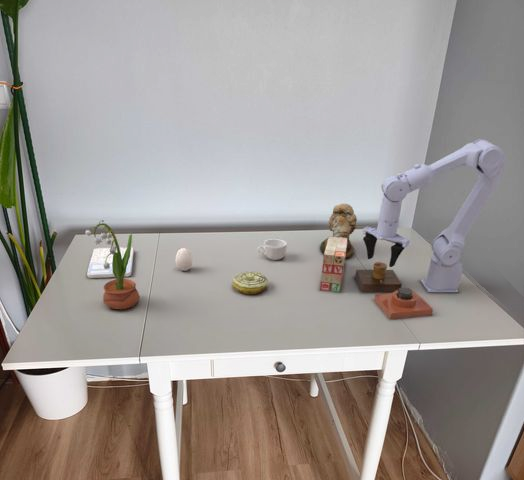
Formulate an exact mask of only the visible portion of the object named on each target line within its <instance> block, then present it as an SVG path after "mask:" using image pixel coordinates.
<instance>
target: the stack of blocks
mask: <svg viewBox="0 0 524 480" xmlns="http://www.w3.org/2000/svg"><path fill="white" fill-rule="evenodd" d="M327 238H328V241H327V246H326V249H325V252H324V254H323V260H322V262H323V263H322V269H321V280H320V285H319V291H324V292H333V293H340V292H341V288H342V284H343V277H344V271H345V264H346V260H345V256H346V249H347V238H340V237H333V236H328V237H327Z"/></svg>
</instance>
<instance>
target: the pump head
mask: <svg viewBox="0 0 524 480" xmlns="http://www.w3.org/2000/svg"><path fill="white" fill-rule="evenodd" d="M413 291H414V290H413V289H411V288H409V287H401V288H400V289H399V290H398V295H397V296H398V297H399V298H401V299H404V300H410V299H411V298H412V294H413Z"/></svg>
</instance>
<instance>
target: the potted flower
mask: <svg viewBox="0 0 524 480" xmlns="http://www.w3.org/2000/svg"><path fill="white" fill-rule="evenodd" d="M104 221H105V220H100V221H99V222H98V224H97V225H96V226H91V227H90V228H89V229H86V230H85V233H84V235H85V236H87V237H91V234H92V231H91V229H93V228H94V230H93V236H94V239H93V241H94V243H96V244H95V245H96V246H97V245H100V244H101V243H103V240H104V241H105V244H106V245H111V246H110V247H109V248H110V249H109V251H110V254H113V262H112V270H113V274H114V275H115V277H114V278H116V279H112V280H109V281H108V282H106V283H104V285H103V290H104V293H103V297H102V301H103V303H104V305H106V306H107V307H108V308H110V309H114V310H125V309H129V308H132V307H134V306H136V305H137V303H138V302H139V300H140V293H139V291H138V289H137V288H136V286H137V284H136V282H135V281H134V280H132V279H128V278H125V277H124V275H125V273H126V268H127V264H128V261H129V258H130V251H131V247H132V242H133V233H131V234H129V236H128V241H127V245H126V247H127V249H126V252H125V254H124V256H123V259H122V257H121V252H120V245H119V242H118V239H117V237H116V234H115V232H114V231H113V229H112V228H111V227H110V226H109V224H107V223H106V222H105V223H104ZM100 226H104V227H103V228H102V229H101V233H100V236H97V235H96V231H97V229H98V228H99V227H100ZM105 228H106V230H105ZM106 232H107V233H106ZM112 239H113V240H112ZM114 244H115V245H114ZM116 249H117V252H115V251H116ZM110 254H109V255H110ZM109 255H108V256H109ZM108 256H107V257H108ZM106 260H107V258H106ZM103 266H104V269H109V268H111V267H110V264H109V263H107V262H106V261H105V263H104V265H103Z"/></svg>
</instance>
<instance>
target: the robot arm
mask: <svg viewBox="0 0 524 480" xmlns="http://www.w3.org/2000/svg"><path fill="white" fill-rule="evenodd" d="M506 161H507V159H506V156H505V154H504V150H502V148H501V147H500V146H497V145H495V144H493V143H491V142H490V141H489V140H488V139H486V138H479V139H476V140H474V141H473V142H469V143H466V144H465V145H464V146H463V147H461V148H459V149H457V150H456V151H454V152H452V153H450V154H448V155H447V156H444V157H442V158H441V159H439V160H437V161H435V162H433V163H431V164H429V165H428V164H425V163H421V164H419V163H417V164H414V165H413V168H410V169H408V170H406V171H404V172H399V173H397V175H391V176H388V177H387V178H386V179H385V180H384V181H383V183H382V184H381V191H382V192H383V194H382V199H381V202H380V203H381V204H380V208H379V213H378V214H379V215H378V221H377V226H376V227H370V226H365V227H363V228H362V235H365V236H363V238H362V240H363V242H364V245H365V249H366V255H367V260H371V259H373V258H374V255H375V251H376V250H375V249H376V245H377V241H378V240H379V241H386V242H390V243H393V245H391V246H390V259H389V267H390V268H393V267H394V266H395V265H396V263H397V261H398V258H399V257H400V256H401V254H402V252H403V251H404V250H405V249H406V248H407V247H409V244H410V239H408V238H407V237H404V236H402V235H400V234H398V233H397V230H398V227H399V222H400V221H399V220H400V216H401V210H402V203H403V201H404V199H406V197H407V195H408V194H410V193H412V192H414V191H416V190H418V189H422V188H424V187H425V186H427V185H430V184H431V183H432V181H433V179H434V178H435V177H437V176H439V175H442V174H444V173H447V172H449V171H453V170H455V169H457V168H460V167H462V166H465V167H469V168H474V169H476V173H477V176H478V180H477V181H476V183H475V184H474V186H473V188H472V189H471V191H470V193H469V194H468V196H467V198H466V199H465V201H464V202H463V204H462V205H461V207H460V208H459V210H458V212H457V214H456V215H455V217H454V218H453V220H452V222H451V223H450V225H449V226H448V227H447V228H445V229H443V230H442V231H441V232H440V233H439V235H438V236H436V237H435V238H434V239H433V240H432V242H431V245H430V247H431V251H432V256H431V257H430V258H431V259H430V261H429V266H428V270H427V275H426V278H425V279H421V280H420V282H421V284H422V285H423V286H424V288H425V289H426V291H427V292H428V293H459V290H458V289H459V285H460V282H461V278H462V274H463V264H462V262H461V261H460V260H461V258H462V252H463V250H464V248H465V245H466V236H467V235H468V233H469V232H470V230H471V229H472V227H473V225H474V224H475V222H476V221H477V219H478V217H479V216H480V214H481V213H482V211H483V210H484V208H485V207H486V205H487V203H488V202H489V200H490V199H491V197H492V196H493V194H494V193H495V191H496V189H497V188H498V187H499V185H500V183H501V181H502V176H503V170H504V169H503V168H504V165H505V163H506Z"/></svg>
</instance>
